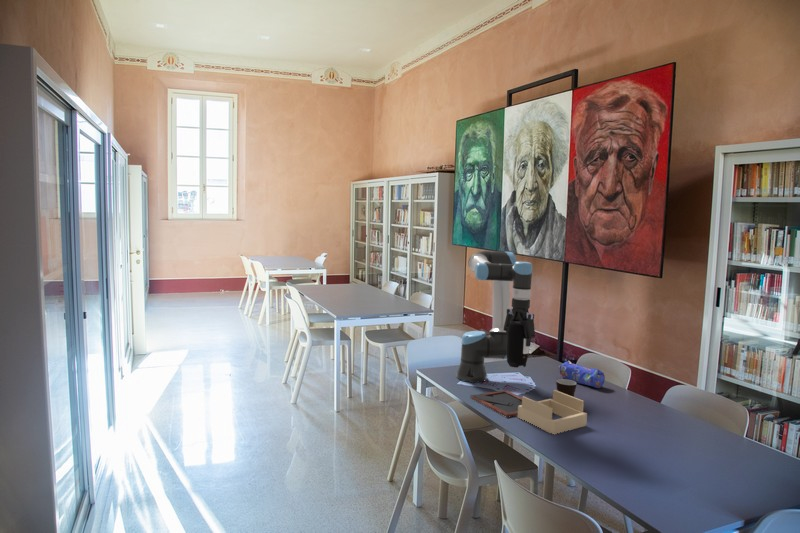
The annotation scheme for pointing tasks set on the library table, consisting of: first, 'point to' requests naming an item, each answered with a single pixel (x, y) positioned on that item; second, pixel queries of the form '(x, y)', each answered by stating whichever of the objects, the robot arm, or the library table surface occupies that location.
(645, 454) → the library table surface
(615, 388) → the library table surface
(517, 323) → the portable speaker
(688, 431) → the library table surface
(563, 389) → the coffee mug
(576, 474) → the library table surface
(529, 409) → the carton
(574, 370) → the pencil case
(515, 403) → the picture frame
